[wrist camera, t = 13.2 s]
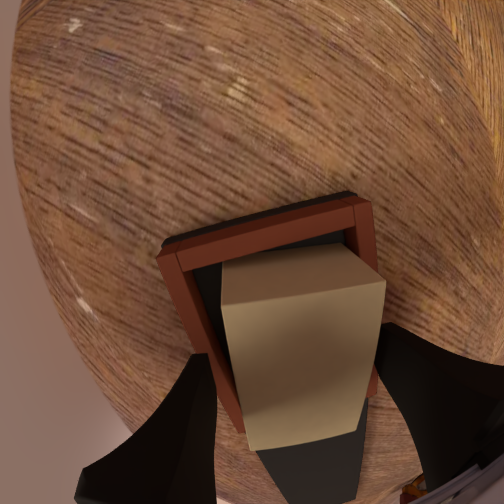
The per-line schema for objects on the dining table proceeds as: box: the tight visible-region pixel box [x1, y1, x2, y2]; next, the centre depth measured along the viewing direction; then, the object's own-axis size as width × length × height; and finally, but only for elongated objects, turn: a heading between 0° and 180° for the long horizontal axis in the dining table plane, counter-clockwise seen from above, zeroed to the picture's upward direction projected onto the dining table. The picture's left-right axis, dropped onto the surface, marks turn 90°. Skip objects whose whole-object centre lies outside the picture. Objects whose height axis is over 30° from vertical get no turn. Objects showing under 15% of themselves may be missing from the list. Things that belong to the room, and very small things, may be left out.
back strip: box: [156, 191, 378, 504], centre depth 17 cm, size 8×40×2 cm, turn 14°
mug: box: [400, 474, 453, 504], centre depth 21 cm, size 11×16×15 cm, turn 82°
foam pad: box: [221, 243, 386, 451], centre depth 11 cm, size 5×8×4 cm, turn 6°
